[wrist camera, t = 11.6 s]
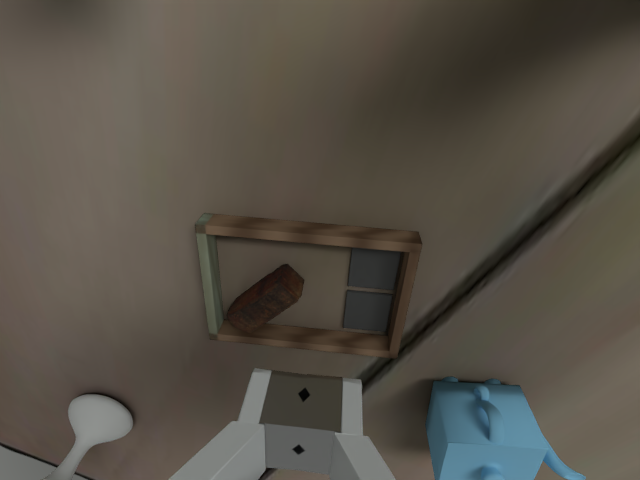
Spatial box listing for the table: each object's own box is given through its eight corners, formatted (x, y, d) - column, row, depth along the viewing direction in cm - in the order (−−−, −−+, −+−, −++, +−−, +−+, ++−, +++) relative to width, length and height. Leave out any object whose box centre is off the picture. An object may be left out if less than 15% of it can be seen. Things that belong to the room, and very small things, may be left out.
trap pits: (401, 246, 46) (401, 248, 45) (385, 329, 53) (385, 331, 52) (352, 242, 46) (352, 244, 46) (343, 325, 53) (343, 327, 52)
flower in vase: (109, 433, 71) (1, 609, 50) (62, 398, 67) (-78, 574, 45) (156, 415, 67) (62, 598, 45) (110, 376, 63) (-19, 558, 41)
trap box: (418, 231, 44) (422, 244, 42) (394, 342, 54) (396, 358, 51) (204, 213, 46) (194, 224, 43) (216, 324, 55) (209, 339, 52)
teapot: (421, 425, 62) (436, 511, 51) (434, 359, 55) (454, 444, 43) (532, 432, 61) (572, 522, 50) (561, 366, 53) (616, 455, 42)
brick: (285, 259, 48) (278, 280, 44) (305, 278, 50) (300, 301, 45) (232, 299, 52) (222, 321, 48) (252, 316, 54) (244, 339, 50)
